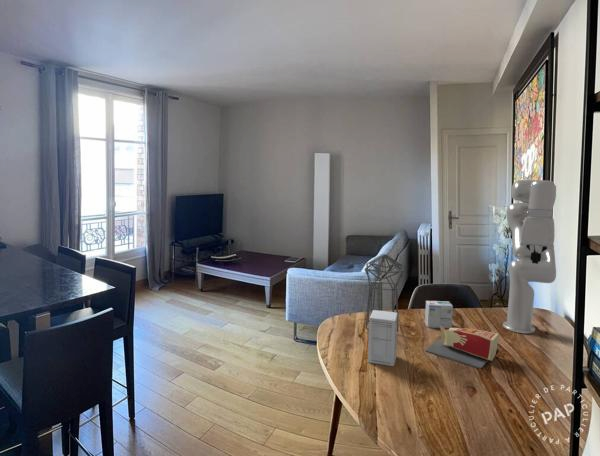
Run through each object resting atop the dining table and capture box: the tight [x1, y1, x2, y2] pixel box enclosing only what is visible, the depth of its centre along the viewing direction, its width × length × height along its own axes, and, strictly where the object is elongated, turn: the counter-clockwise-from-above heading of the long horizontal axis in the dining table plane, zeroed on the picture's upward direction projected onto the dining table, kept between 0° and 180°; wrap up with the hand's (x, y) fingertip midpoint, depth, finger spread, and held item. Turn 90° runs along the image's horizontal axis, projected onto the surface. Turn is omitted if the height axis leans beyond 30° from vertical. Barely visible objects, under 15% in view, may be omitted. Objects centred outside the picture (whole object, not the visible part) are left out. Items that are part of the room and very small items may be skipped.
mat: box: [425, 338, 499, 370], centre depth 145 cm, size 22×20×1 cm
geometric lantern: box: [364, 253, 405, 333], centre depth 156 cm, size 16×16×35 cm
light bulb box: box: [424, 300, 454, 329], centre depth 170 cm, size 11×7×11 cm, turn 84°
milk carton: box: [439, 326, 499, 362], centre depth 143 cm, size 9×9×20 cm
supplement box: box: [367, 309, 399, 367], centre depth 136 cm, size 10×9×17 cm
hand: (535, 262), depth 140 cm, fingers closed
